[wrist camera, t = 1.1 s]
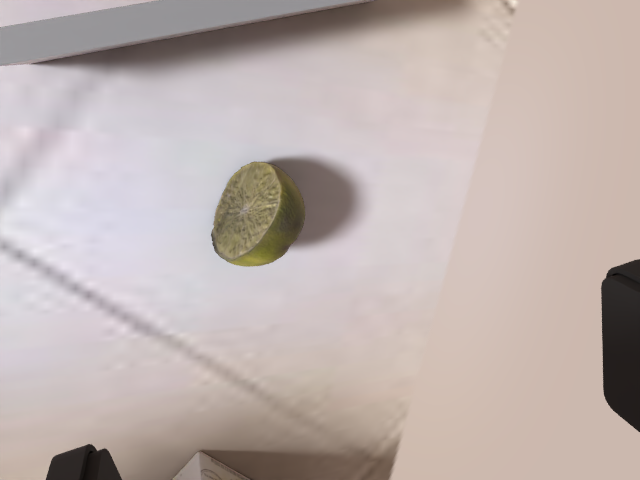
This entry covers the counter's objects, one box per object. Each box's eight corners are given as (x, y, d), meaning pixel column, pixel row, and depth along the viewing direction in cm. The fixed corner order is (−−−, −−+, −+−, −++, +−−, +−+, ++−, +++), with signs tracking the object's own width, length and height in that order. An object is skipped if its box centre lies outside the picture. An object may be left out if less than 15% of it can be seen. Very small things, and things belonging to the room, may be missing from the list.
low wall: (372, 1, 27) (416, -10, 22) (28, 63, 24) (-4, 66, 19) (369, -26, 26) (412, -43, 22) (18, 34, 23) (-17, 30, 19)
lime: (212, 251, 29) (221, 289, 24) (200, 160, 27) (208, 181, 23) (295, 240, 30) (319, 275, 25) (289, 151, 28) (314, 170, 24)
